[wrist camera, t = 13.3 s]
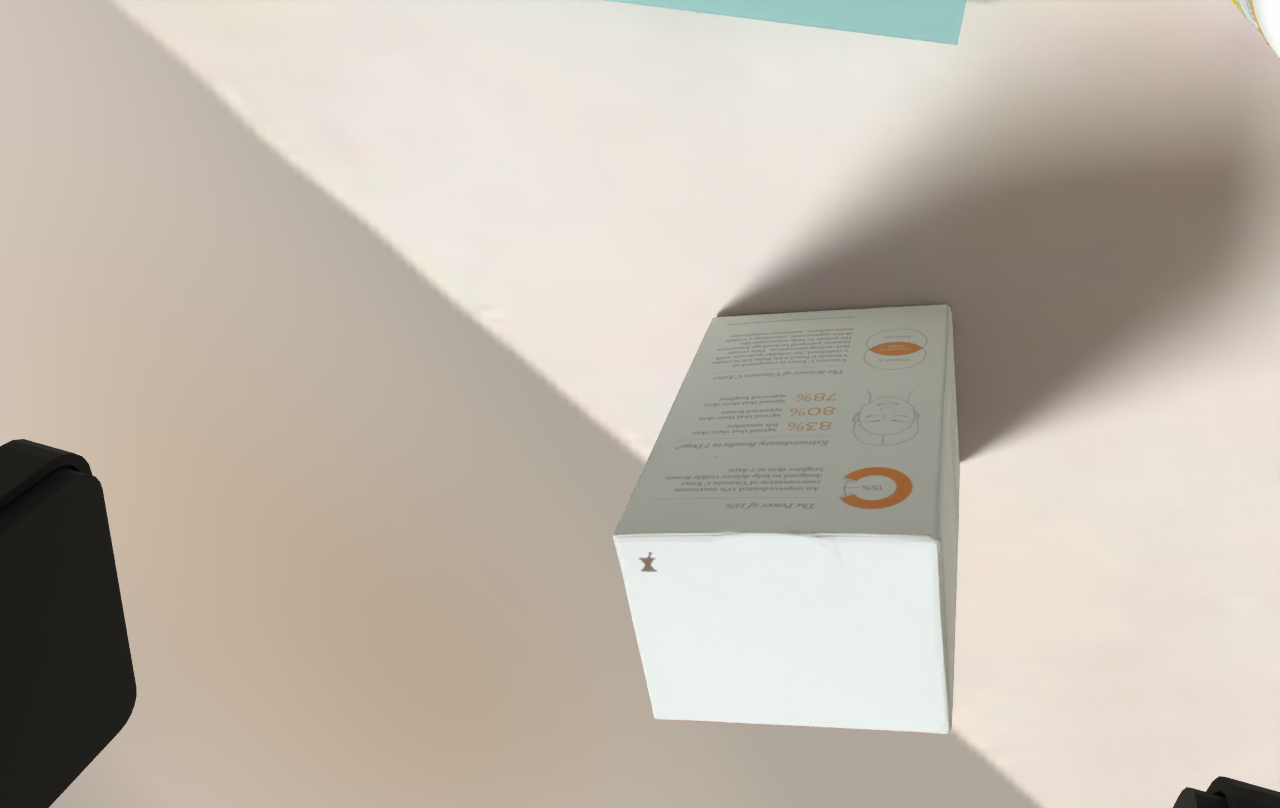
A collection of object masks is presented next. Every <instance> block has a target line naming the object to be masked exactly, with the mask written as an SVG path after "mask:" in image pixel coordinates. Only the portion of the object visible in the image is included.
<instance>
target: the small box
mask: <svg viewBox="0 0 1280 808" xmlns="http://www.w3.org/2000/svg"><path fill="white" fill-rule="evenodd" d="M959 480H960V460H959V441H958V421H957V401H956V381H955V362H954V343H953V324H952V312H951V308H950V306H949V305H946V304H941V305H924V306H903V307H883V308H866V309H850V310H828V311H810V312H793V313H777V314H761V315H743V316H727V317H715V318H713V319H712V321H711V324H710V325H709V327H708V330H707V332H706V334H705V336H704V338H703V340H702V343H701V345H700V347H699V349H698V351H697V353H696V355H695V357H694V360H693V362H692V364H691V366H690V368H689V370H688V372H687V374H686V377H685V379H684V381H683V383H682V385H681V388H680V390H679V392H678V394H677V397H676V399H675V401H674V403H673V405H672V408H671V410H670V412H669V414H668V416H667V419H666V421H665V423H664V425H663V428H662V430H661V432H660V434H659V436H658V439H657V441H656V443H655V445H654V447H653V450H652V452H651V454H650V456H649V458H648V461H647V463H646V465H645V467H644V469H643V472H642V474H641V476H640V478H639V480H638V482H637V484H636V487H635V489H634V491H633V493H632V495H631V498H630V499H629V502H628V504H627V506H626V508H625V510H624V512H623V515H622V517H621V519H620V521H619V523H618V526H617V528H616V530H615V532H614V534H613V539H614V543H615V546H616V550H617V554H618V558H619V562H620V566H621V570H622V574H623V578H624V583H625V588H626V592H627V597H628V601H629V605H630V610H631V615H632V619H633V624H634V629H635V633H636V637H637V642H638V646H639V650H640V655H641V659H642V663H643V668H644V672H645V677H646V682H647V686H648V691H649V695H650V699H651V703H652V708H653V713H654V718H655V719H658V720H676V721H677V720H678V721H698V722H718V723H737V724H759V725H779V726H799V727H818V728H841V729H859V730H878V731H897V732H898V731H899V732H917V733H935V734H949V733H950V730H951V727H952V708H953V681H954V651H955V617H956V588H957V553H958V526H959Z"/></svg>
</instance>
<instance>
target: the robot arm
mask: <svg viewBox="0 0 1280 808" xmlns="http://www.w3.org/2000/svg"><path fill="white" fill-rule="evenodd" d="M135 700H136V683H135V677H134V671H133V665H132V660H131V654H130V648H129V643H128V636H127V630H126V624H125V618H124V613H123V607H122V601H121V595H120V589H119V583H118V577H117V571H116V566H115V560H114V553H113V548H112V542H111V536H110V530H109V524H108V518H107V513H106V506H105V501H104V495H103V489H102V486H101V483H100V481H98V479H97V478H96V477H95V476H92V472H91V470H90V467H89V464H88V463H87V461H86V460H85V459H84V458H83V457H82V456H80V455H77V454H74V453H71V452H67V451H64V450H60V449H56V448H53V447H50V446H46V445H43V444H39V443H35V442H32V441H28V440H25V439H20V440H12V441H10V442H8V443H6V444H4V445H2V446H0V808H49V807H50V806H51V804H52V803H53V802H54V801H55V800H56V799H57V798H58V797H59V796H60V795H61V794H62V793H63V792H64V790H65V789H66V788H67V787H68V786H69V785H70V784H71V783H72V782H73V781H74V780H75V779H76V778H77V777H78V776H79V774H80V773H81V772H82V771H83V770H84V769H85V768H86V767H87V766H88V765H89V764H90V762H92V761H93V759H94V758H95V757H96V756H97V755H98V754H99V753H100V752H101V751H102V750H103V749H104V748H105V747H106V746H107V744H108V743H109V742H110V741H111V740H112V739H113V738H114V737H115V736H116V735H117V734H118V733H119V731H120V730H121V729H122V728H123V726H124V725H125V724H126V722H127V721H128V719H129V717H130V715H131V713H132V710H133V708H134V705H135ZM1173 808H1280V792H1277V791H1273V790H1270V789H1266V788H1263V787H1259V786H1255V785H1252V784H1248V783H1245V782H1241V781H1238V780H1234V779H1231V778H1227V777H1220V776H1219V777H1218V778H1216V779H1215V780H1214V781H1213V782H1212V783H1211V785H1210V786H1209V788H1208V789H1207V791H1206V792H1204V791H1200V790H1197V789H1193V788H1188V787H1187V788H1185V789H1184V790H1183V791H1182V792H1181V794H1180V795H1179V797H1178V799H1177V801H1176V803H1175V805H1174V807H1173Z"/></svg>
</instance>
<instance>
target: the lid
mask: <svg viewBox="0 0 1280 808" xmlns="http://www.w3.org/2000/svg"><path fill="white" fill-rule="evenodd" d="M606 1H614V2H622V3H630V4H638V5H646V6H654V7H662V8H669V9H677V10H685V11H693V12H701V13H709V14H717V15H725V16H732V17H740V18H748V19H756V20H764V21H772V22H780V23H788V24H796V25H803V26H811V27H819V28H827V29H835V30H843V31H851V32H859V33H867V34H874V35H882V36H890V37H898V38H906V39H914V40H922V41H930V42H937V43H945V44H953V45H957V43H958V39H959V34H960V29H961V24H962V19H963V14H964V9H965V4H966V0H606Z"/></svg>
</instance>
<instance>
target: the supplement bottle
mask: <svg viewBox="0 0 1280 808" xmlns="http://www.w3.org/2000/svg"><path fill="white" fill-rule="evenodd" d="M1232 1H1233V3H1234V4H1235V5H1236V6H1237V8H1238V9H1239V10H1240V11H1241V12H1242V13H1243V15H1244V16H1245V17H1246V18H1247V19H1248V21H1249V22H1250V23H1251V24H1252V25H1253V26H1254V27H1255V29H1256V30H1257V31H1258V32H1259V34H1260V35H1261V36H1262V37H1263V38H1264V40H1265V41H1266V42H1267V44H1268V45H1269V46H1270V47H1271V48H1272V50H1273V51H1274V52H1275V53H1276V55H1277V56H1278V57H1279V58H1280V0H1232Z"/></svg>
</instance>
